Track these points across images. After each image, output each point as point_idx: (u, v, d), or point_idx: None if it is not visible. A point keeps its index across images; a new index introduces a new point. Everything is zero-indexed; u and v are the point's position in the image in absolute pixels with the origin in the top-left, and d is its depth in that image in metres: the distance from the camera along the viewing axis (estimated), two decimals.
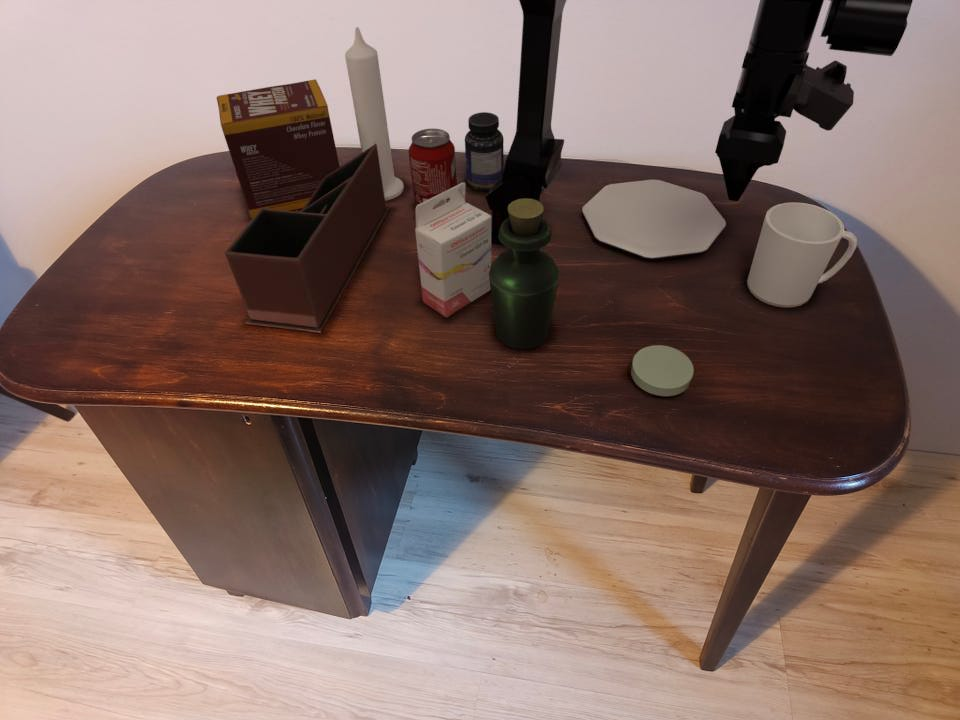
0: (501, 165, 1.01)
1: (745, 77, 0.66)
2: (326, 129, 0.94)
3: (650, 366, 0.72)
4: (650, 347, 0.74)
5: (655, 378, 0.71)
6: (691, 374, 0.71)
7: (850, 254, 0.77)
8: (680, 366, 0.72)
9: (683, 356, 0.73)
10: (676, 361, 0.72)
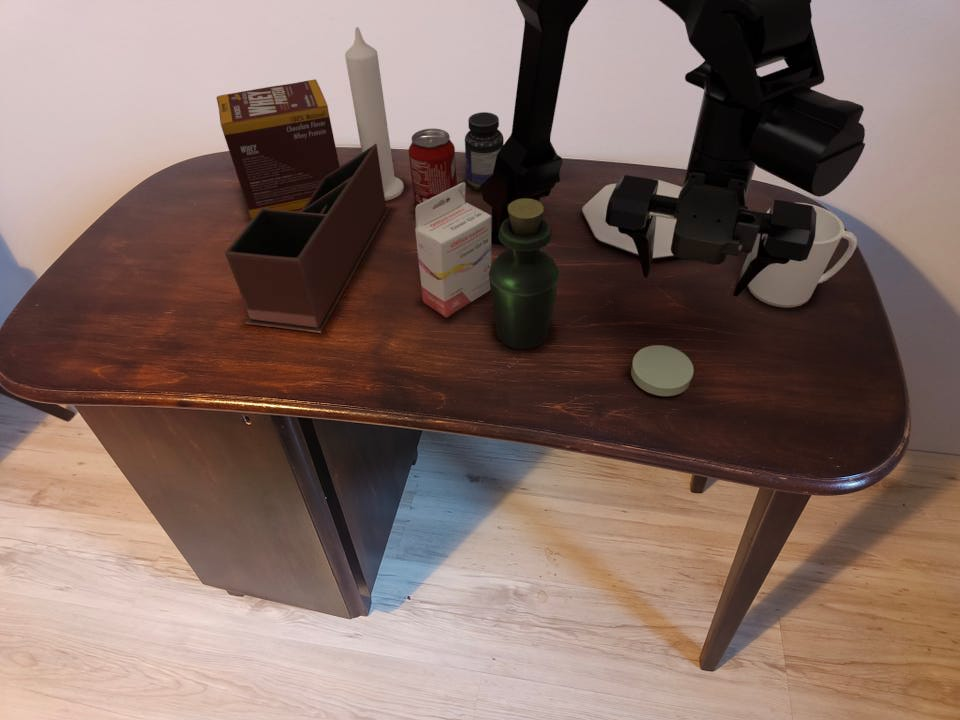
0: None
1: None
2: (326, 129, 0.94)
3: (650, 366, 0.72)
4: (650, 347, 0.74)
5: (655, 378, 0.71)
6: (691, 374, 0.71)
7: (850, 254, 0.77)
8: (680, 366, 0.72)
9: (683, 356, 0.73)
10: (676, 361, 0.72)
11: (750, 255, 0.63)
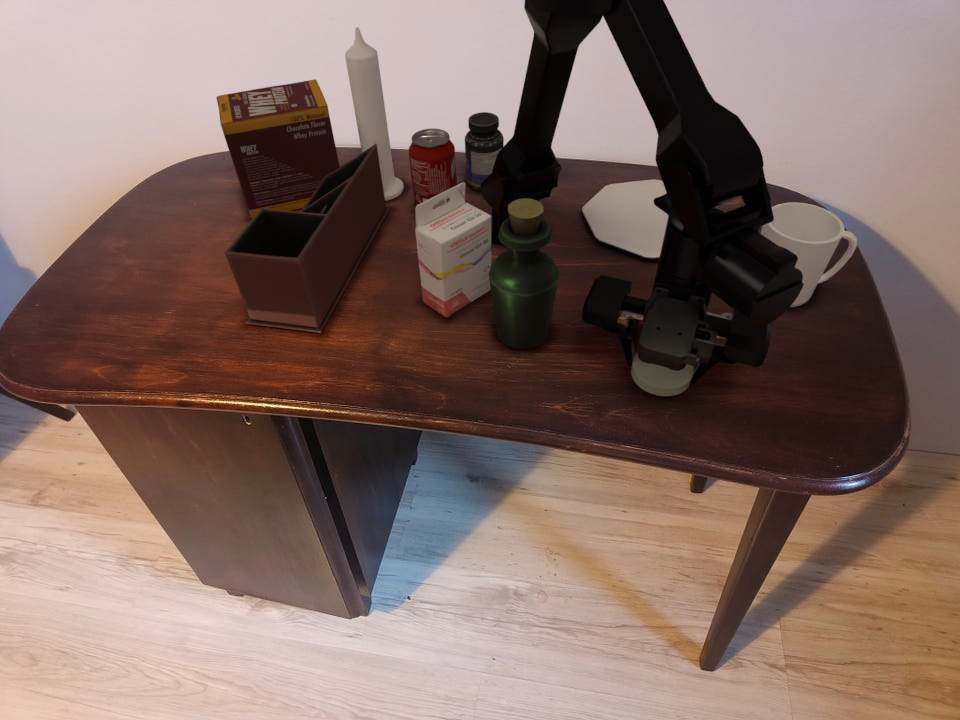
0: None
1: None
2: (326, 129, 0.94)
3: (650, 366, 0.72)
4: None
5: (655, 378, 0.71)
6: (691, 374, 0.71)
7: (850, 254, 0.77)
8: None
9: None
10: None
11: None
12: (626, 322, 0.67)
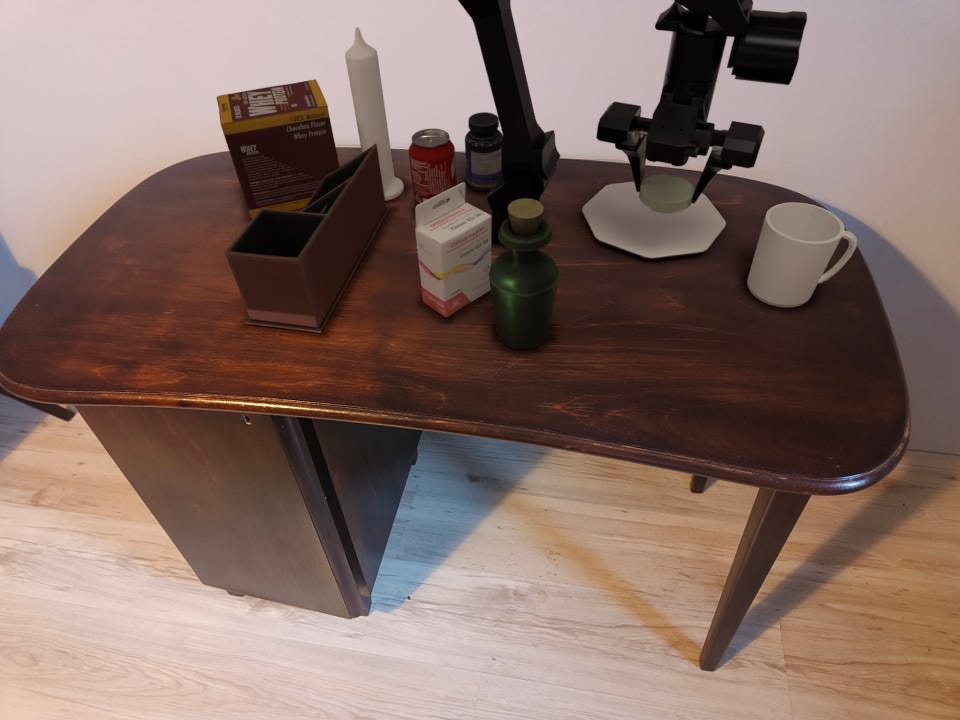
0: None
1: None
2: (326, 129, 0.94)
3: (656, 188, 0.81)
4: (656, 176, 0.83)
5: (660, 196, 0.80)
6: (692, 193, 0.80)
7: (850, 254, 0.77)
8: (683, 188, 0.81)
9: (686, 182, 0.82)
10: (680, 185, 0.82)
11: None
12: (635, 138, 0.77)
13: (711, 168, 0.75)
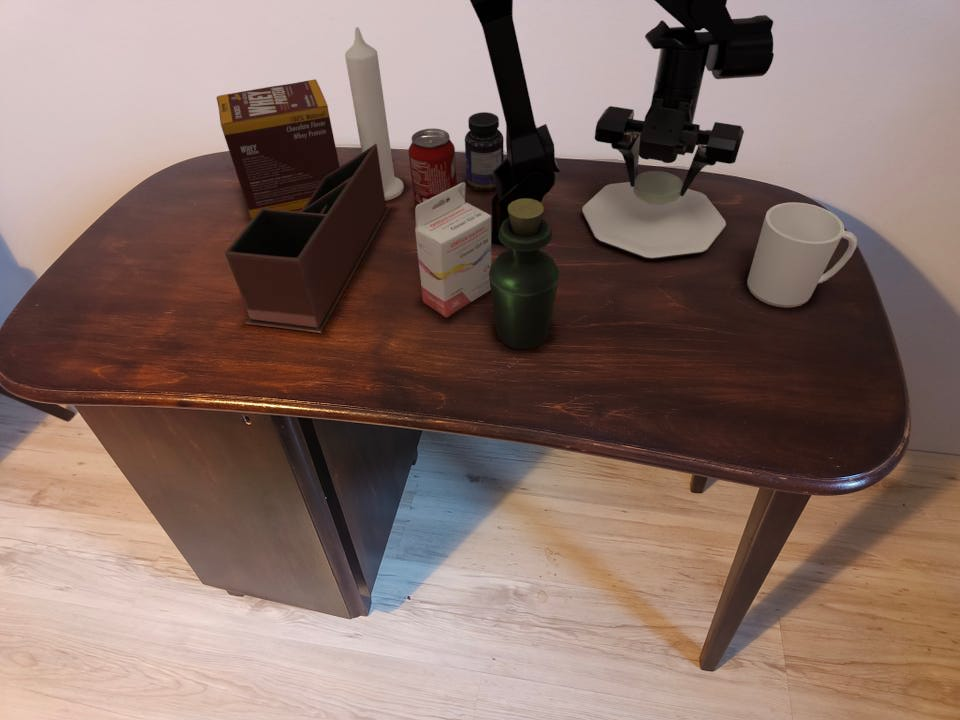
0: None
1: None
2: (326, 129, 0.94)
3: (648, 183, 0.91)
4: (648, 172, 0.93)
5: (652, 190, 0.89)
6: (681, 187, 0.90)
7: (850, 254, 0.77)
8: (672, 182, 0.91)
9: (675, 177, 0.92)
10: (669, 180, 0.91)
11: None
12: (629, 138, 0.86)
13: (697, 164, 0.84)
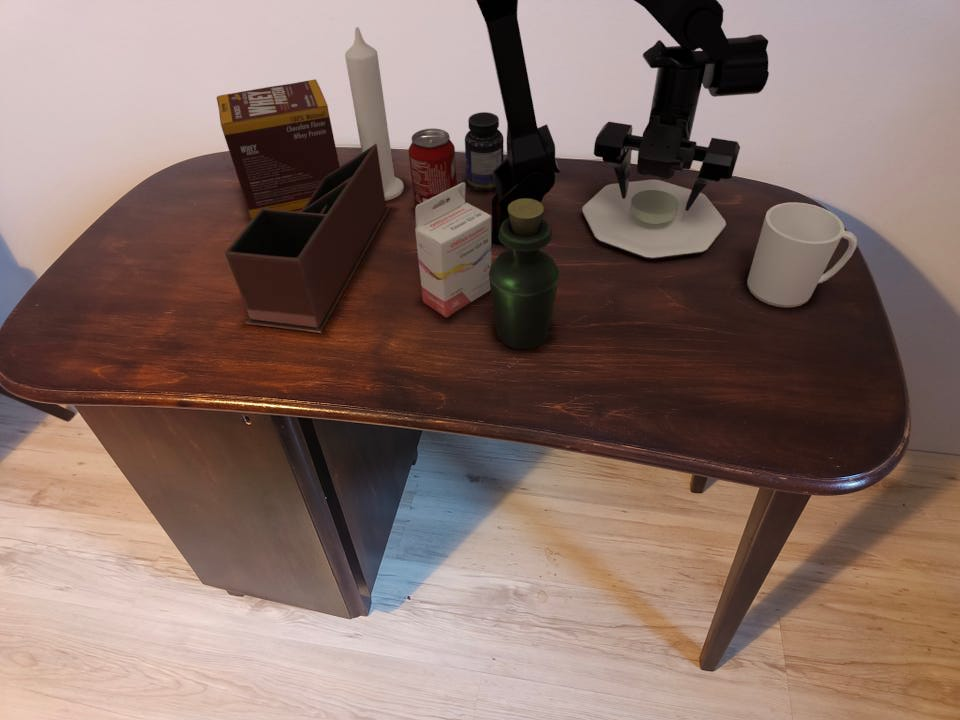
0: None
1: None
2: (326, 129, 0.94)
3: (645, 202, 0.93)
4: (645, 191, 0.95)
5: (649, 209, 0.92)
6: (677, 206, 0.92)
7: (850, 254, 0.77)
8: (668, 202, 0.93)
9: (671, 196, 0.94)
10: (665, 199, 0.93)
11: (696, 179, 0.89)
12: None
13: (702, 180, 0.86)
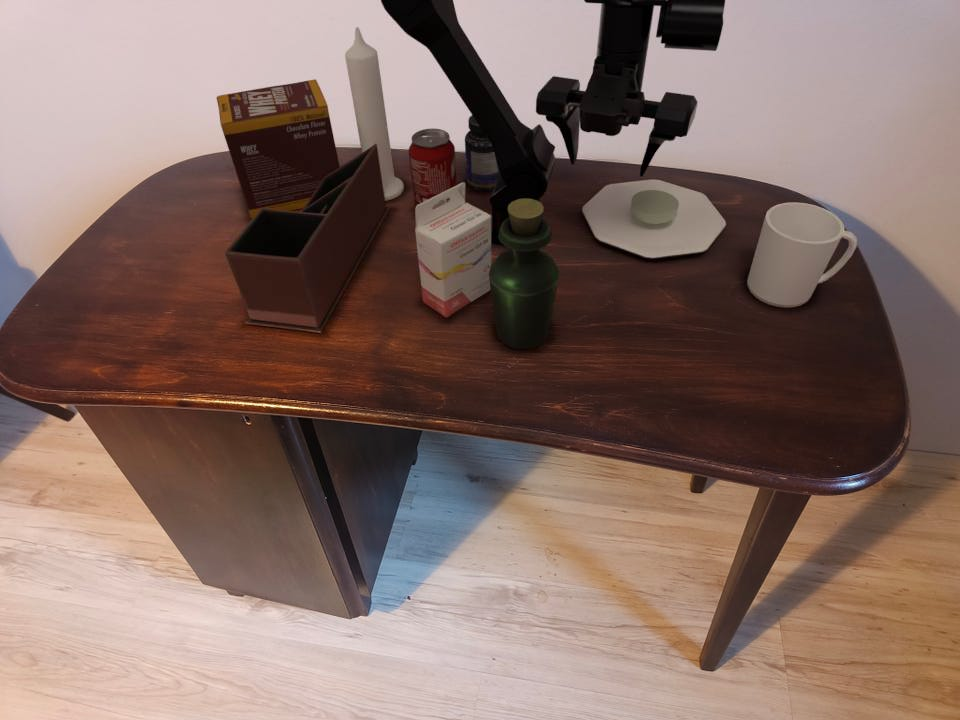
0: None
1: None
2: (326, 129, 0.94)
3: (645, 202, 0.93)
4: (645, 191, 0.95)
5: (649, 209, 0.92)
6: (677, 206, 0.92)
7: (850, 254, 0.77)
8: (668, 202, 0.93)
9: (671, 196, 0.94)
10: (665, 199, 0.93)
11: None
12: None
13: (655, 140, 0.76)
